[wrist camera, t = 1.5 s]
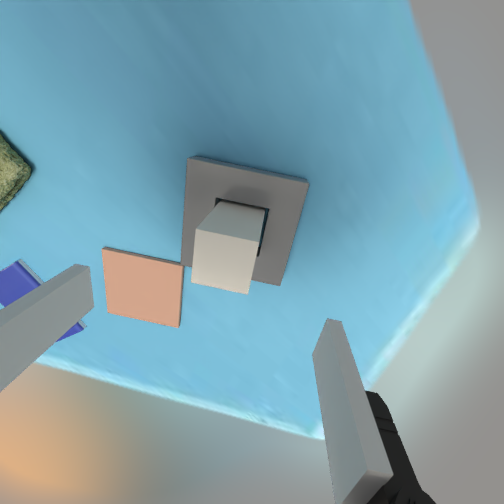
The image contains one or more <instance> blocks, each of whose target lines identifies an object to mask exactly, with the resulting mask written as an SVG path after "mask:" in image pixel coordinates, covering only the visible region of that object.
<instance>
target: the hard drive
mask: <svg viewBox="0 0 504 504" xmlns="http://www.w3.org/2000/svg"><path fill="white" fill-rule="evenodd" d="M42 284H44V282H43V281H42V280H41V279H40V278H39V277H38V276H37V275H36V274H35V273H34V272H33V271H32V270H31V268H30V267H29V266H28V265H27V264H26V263H25V262H24V261H23V260H22V259H20V260H18V261H16V262H15V263H13V264H11V265H10V266H8V267H6V268H5V269H3V270H2V271H0V303H1V304H2V305H3V306H4V307H6V306H8V305H9V304H11V303H13V302H14V301H16V300H18V299H19V298H21V297H22V296H24V295H26V294H27V293H29V292H31V291H32V290H34V289H35V288H37V287H39V286H40V285H42ZM85 327H86V325H85V324H84V323H83V322H82V321H81V320H79V321H78V322H77V323H76V324H75V325H74V326H72V327H71V328H70V329H69V330H68V331H67V332H66V333H65V334H64V335H63V336H61V337H60V338H59V339H58V340H57V341H60V340H62V339H64V338H66V337H69V336H71V335H73V334H76V333H78V332H80V331H82V330H83V329H84V328H85ZM57 341H56V342H57Z"/></svg>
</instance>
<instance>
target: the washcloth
mask: <svg viewBox="0 0 504 504" xmlns="http://www.w3.org/2000/svg"><path fill="white" fill-rule="evenodd" d="M30 172H31V168H30V166H29V165H28V164H27V163H25V162H24V161H23V159H22V158H21V157H20V156H19V155H18V154H17V153H16V152H15V151H14V150H13V149H12V148H11V147H10V145H9V144H8V143H7V142H5V139H4V138H3V137H2V136H1V134H0V211H1V210H2V208H3V207H4V206H6V205H7V202H8V201H10V200H11V199H12V198H13V197H14V194H15V193H17V191H18V189H19V188H21V187H22V186H23V184H24V182H25V181H26V180H28V179H29V177H30V176H31V174H30Z"/></svg>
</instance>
